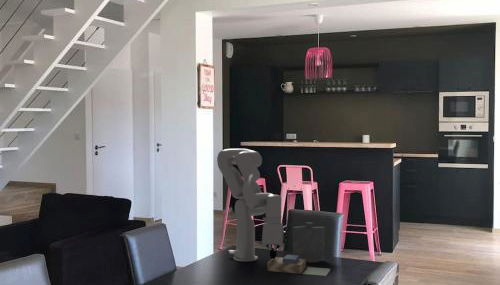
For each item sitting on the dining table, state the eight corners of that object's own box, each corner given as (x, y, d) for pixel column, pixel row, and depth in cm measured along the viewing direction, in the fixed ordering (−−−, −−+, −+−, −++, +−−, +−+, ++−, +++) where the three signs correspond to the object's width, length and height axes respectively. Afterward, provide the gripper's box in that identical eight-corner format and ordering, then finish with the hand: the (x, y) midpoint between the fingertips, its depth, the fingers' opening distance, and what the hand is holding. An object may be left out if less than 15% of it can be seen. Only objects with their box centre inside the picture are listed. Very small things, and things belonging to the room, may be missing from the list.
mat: (302, 274, 250) (302, 273, 250) (307, 267, 262) (307, 266, 262) (326, 276, 246) (326, 275, 246) (330, 269, 259) (330, 268, 259)
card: (282, 262, 254) (282, 258, 254) (287, 258, 263) (287, 254, 263) (295, 263, 253) (295, 259, 253) (299, 259, 261) (299, 255, 261)
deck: (267, 270, 255) (267, 262, 255) (273, 264, 267) (273, 256, 267) (300, 273, 250) (300, 265, 250) (305, 267, 262) (305, 259, 262)
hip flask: (323, 260, 277) (324, 221, 277) (325, 262, 273) (325, 223, 273) (292, 260, 276) (293, 221, 276) (294, 262, 272) (294, 223, 272)
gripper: (256, 220, 259) (256, 258, 259) (286, 222, 254) (286, 261, 255) (260, 218, 266) (260, 255, 266) (290, 220, 261) (290, 257, 262)
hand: (273, 258), depth 260 cm, fingers closed
